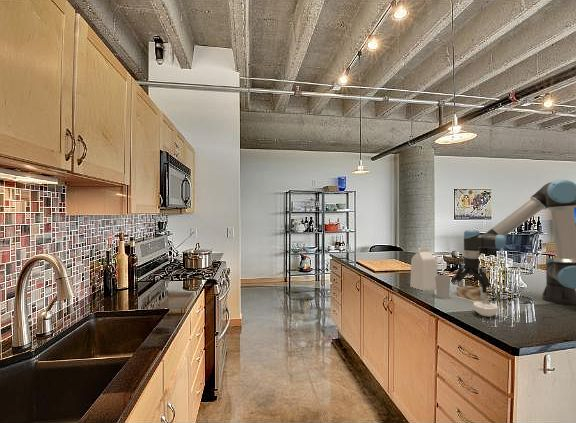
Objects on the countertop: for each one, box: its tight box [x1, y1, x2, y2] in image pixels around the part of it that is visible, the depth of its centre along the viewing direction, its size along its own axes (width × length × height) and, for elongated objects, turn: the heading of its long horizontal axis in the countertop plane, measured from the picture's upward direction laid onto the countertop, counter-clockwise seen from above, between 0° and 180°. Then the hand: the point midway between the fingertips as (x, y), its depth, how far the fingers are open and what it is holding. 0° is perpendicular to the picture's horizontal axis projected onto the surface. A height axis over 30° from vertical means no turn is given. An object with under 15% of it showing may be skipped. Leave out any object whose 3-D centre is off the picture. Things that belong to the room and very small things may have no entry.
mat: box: [452, 294, 493, 303], centre depth 174 cm, size 14×14×1 cm
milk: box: [409, 246, 438, 292], centre depth 198 cm, size 12×12×26 cm
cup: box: [435, 274, 451, 300], centre depth 175 cm, size 8×8×12 cm
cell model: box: [473, 300, 500, 318], centre depth 145 cm, size 10×12×7 cm
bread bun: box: [456, 285, 488, 302], centre depth 174 cm, size 10×10×5 cm
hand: (471, 295), depth 174 cm, fingers open, 13 cm apart
